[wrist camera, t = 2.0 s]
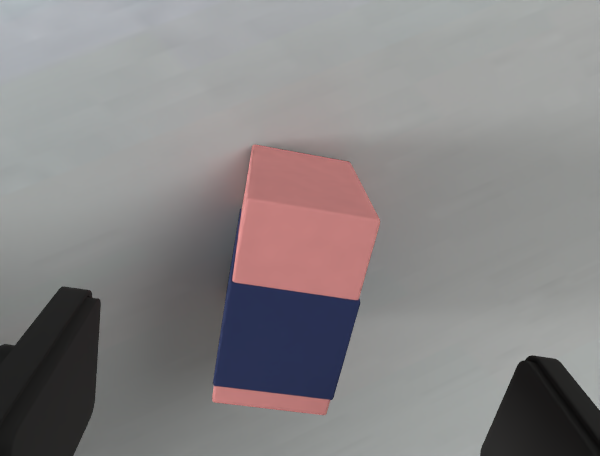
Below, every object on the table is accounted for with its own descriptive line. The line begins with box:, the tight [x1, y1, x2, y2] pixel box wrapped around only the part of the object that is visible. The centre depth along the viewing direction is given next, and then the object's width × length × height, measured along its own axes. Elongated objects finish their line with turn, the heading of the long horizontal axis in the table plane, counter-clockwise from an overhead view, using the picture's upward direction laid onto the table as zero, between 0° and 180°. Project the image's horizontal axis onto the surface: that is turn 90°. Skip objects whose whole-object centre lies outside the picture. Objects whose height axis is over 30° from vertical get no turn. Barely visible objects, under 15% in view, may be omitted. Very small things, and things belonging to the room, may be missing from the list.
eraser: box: [212, 145, 380, 415], centre depth 15 cm, size 6×3×5 cm, turn 169°
